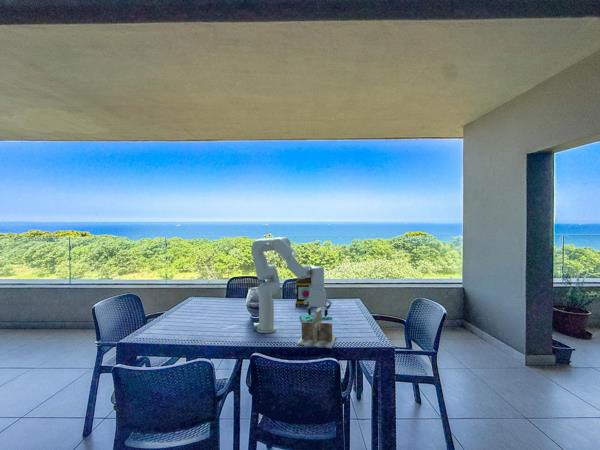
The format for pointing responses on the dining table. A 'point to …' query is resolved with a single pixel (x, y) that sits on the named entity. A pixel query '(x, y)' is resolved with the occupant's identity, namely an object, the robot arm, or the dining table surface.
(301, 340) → the cross base
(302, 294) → the decorative lantern
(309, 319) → the alien figure
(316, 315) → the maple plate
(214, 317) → the dining table surface
